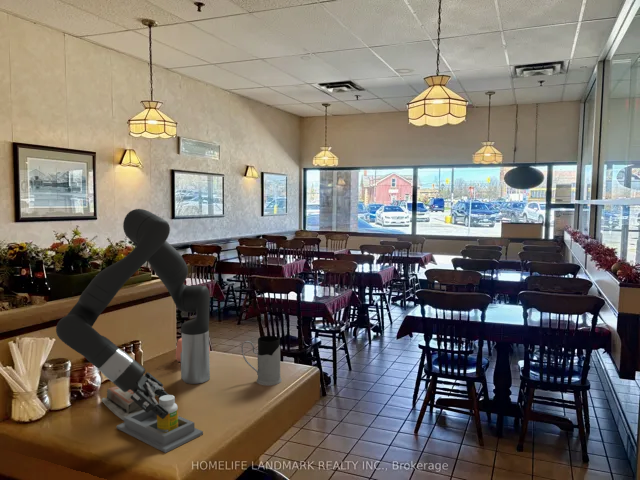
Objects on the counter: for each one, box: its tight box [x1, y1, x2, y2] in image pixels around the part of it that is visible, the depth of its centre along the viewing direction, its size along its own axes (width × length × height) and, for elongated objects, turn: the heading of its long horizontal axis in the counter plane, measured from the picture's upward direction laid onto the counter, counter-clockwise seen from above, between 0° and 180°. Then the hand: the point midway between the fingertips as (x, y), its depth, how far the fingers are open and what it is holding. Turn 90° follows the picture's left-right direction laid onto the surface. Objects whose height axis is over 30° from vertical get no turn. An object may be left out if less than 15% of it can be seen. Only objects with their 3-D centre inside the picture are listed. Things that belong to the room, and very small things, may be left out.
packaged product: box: [101, 385, 147, 422], centre depth 151 cm, size 18×5×10 cm
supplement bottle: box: [157, 394, 179, 433], centre depth 132 cm, size 5×5×10 cm
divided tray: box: [116, 410, 204, 454], centre depth 135 cm, size 22×12×3 cm, turn 54°
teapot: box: [175, 337, 211, 363], centre depth 192 cm, size 12×18×10 cm, turn 170°
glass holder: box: [241, 335, 283, 386], centre depth 171 cm, size 9×14×15 cm, turn 80°
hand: (168, 408), depth 132 cm, fingers open, 8 cm apart
